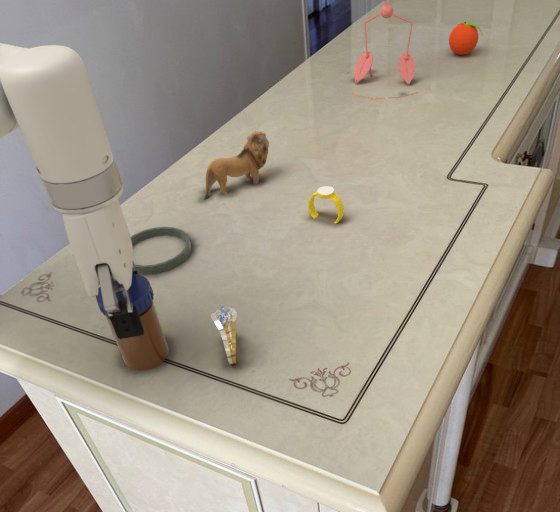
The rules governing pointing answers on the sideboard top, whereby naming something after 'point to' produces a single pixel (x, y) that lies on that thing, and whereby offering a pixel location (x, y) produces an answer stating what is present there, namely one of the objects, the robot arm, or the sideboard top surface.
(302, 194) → the sideboard top surface
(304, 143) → the sideboard top surface
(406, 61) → the balance scale
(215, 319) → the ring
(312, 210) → the watch
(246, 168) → the lion figurine
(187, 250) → the grey-green bangle
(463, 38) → the clementine
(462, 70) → the sideboard top surface
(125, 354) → the jar
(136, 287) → the lid
